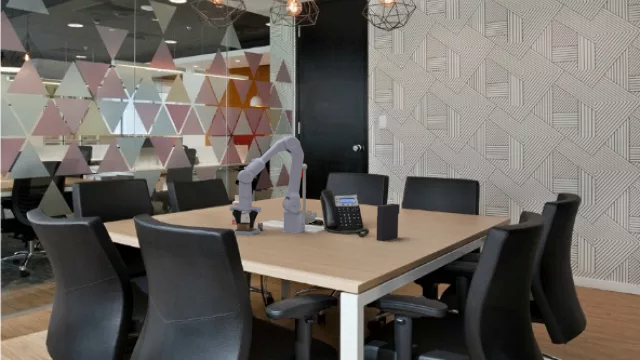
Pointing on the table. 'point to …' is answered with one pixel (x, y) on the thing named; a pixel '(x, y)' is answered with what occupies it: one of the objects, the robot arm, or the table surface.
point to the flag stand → (309, 215)
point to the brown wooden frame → (244, 227)
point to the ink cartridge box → (244, 214)
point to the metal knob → (261, 227)
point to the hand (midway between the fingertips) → (245, 227)
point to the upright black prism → (387, 221)
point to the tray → (247, 232)
